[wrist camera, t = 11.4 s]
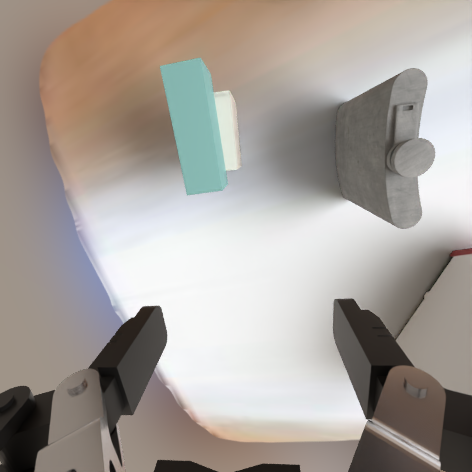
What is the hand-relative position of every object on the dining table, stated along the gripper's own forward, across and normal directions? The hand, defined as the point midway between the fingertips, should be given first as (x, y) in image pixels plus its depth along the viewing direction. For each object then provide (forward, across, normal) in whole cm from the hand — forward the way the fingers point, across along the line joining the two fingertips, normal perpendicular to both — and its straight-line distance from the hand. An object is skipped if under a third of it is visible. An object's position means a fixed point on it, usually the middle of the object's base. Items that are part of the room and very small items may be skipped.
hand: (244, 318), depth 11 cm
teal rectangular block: (+27, +6, -10) cm, 29 cm away
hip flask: (+36, -16, -5) cm, 40 cm away
